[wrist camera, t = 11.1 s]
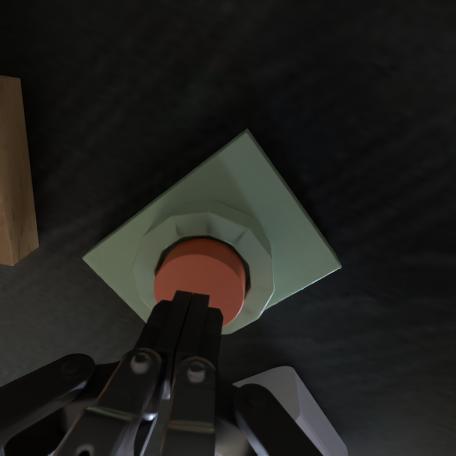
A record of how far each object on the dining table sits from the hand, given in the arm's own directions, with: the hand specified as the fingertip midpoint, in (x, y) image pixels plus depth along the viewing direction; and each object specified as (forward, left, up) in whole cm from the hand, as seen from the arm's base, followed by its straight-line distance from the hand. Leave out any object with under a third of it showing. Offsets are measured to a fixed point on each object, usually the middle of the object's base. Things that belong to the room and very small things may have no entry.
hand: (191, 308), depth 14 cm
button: (0, 0, -3) cm, 3 cm away
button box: (0, 0, -6) cm, 6 cm away
